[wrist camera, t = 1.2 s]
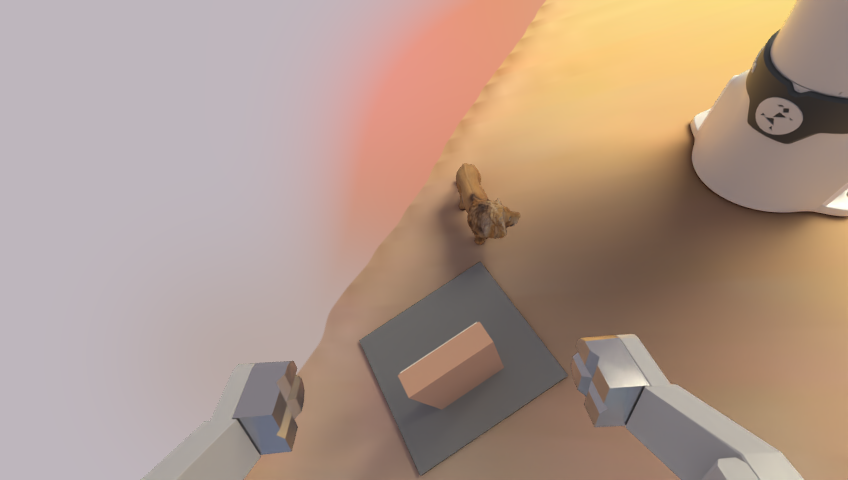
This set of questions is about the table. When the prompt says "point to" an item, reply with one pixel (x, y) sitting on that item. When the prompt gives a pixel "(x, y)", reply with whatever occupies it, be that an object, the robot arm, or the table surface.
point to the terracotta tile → (452, 368)
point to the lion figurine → (482, 207)
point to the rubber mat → (433, 326)
